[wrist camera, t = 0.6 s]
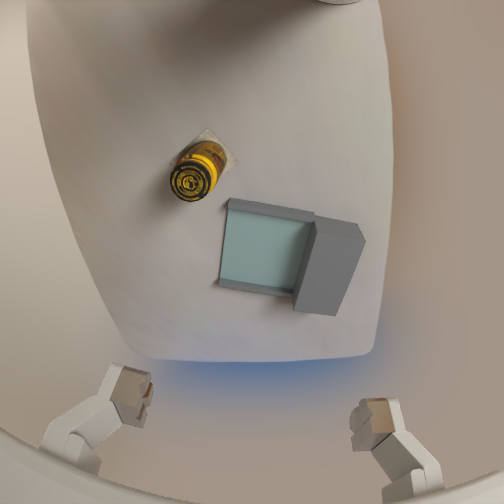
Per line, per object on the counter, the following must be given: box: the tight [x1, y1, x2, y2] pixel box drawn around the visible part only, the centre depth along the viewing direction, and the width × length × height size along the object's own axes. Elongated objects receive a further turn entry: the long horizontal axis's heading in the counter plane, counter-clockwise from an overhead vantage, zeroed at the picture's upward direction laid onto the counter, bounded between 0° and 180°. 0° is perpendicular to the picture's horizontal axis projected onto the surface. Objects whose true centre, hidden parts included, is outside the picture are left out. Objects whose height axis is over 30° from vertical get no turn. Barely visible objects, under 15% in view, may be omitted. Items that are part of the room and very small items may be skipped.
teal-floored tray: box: [218, 198, 366, 316], centre depth 52 cm, size 17×22×6 cm
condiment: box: [170, 128, 238, 202], centre depth 41 cm, size 7×8×12 cm
